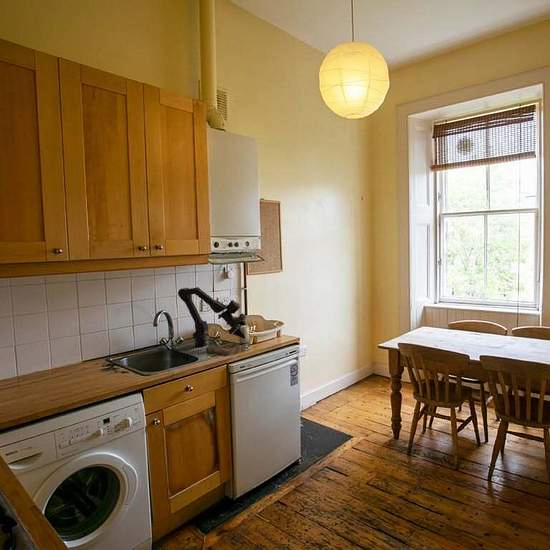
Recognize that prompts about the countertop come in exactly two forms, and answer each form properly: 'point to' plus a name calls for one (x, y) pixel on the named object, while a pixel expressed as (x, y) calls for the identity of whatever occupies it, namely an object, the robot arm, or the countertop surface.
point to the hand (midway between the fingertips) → (247, 336)
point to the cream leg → (246, 333)
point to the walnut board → (229, 348)
